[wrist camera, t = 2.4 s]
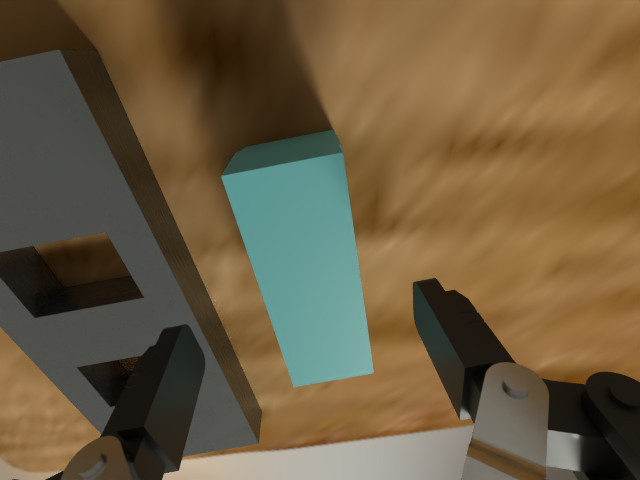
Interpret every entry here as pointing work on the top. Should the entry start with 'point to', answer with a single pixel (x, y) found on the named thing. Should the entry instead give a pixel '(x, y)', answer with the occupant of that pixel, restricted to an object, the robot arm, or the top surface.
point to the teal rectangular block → (303, 252)
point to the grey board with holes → (125, 234)
